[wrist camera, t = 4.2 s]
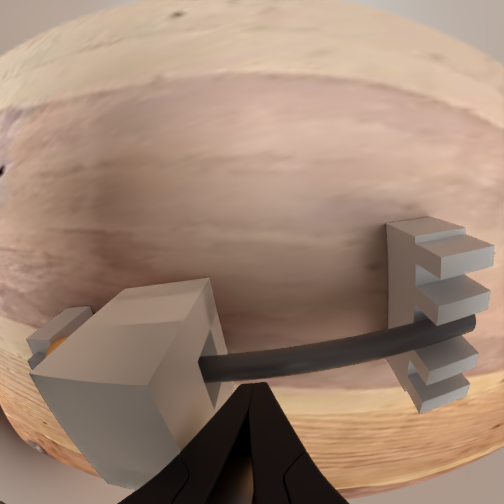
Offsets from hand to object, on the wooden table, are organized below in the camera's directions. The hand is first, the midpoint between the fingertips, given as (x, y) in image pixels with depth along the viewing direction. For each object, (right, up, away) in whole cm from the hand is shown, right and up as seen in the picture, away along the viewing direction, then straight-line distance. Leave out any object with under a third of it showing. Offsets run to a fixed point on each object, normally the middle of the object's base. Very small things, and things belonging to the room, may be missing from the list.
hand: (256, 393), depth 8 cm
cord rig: (-1, +1, +5) cm, 5 cm away
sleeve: (-3, +1, +5) cm, 6 cm away
